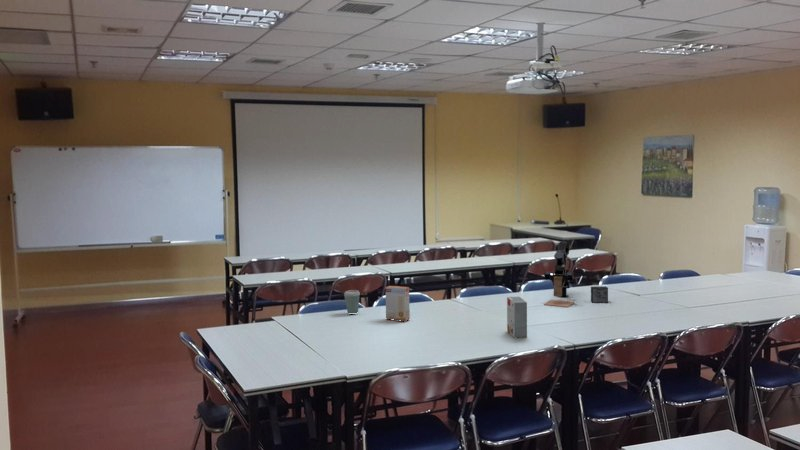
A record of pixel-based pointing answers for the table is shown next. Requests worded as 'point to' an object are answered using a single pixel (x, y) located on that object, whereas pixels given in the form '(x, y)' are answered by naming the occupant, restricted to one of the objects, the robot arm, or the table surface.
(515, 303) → the hard drive box
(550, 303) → the terracotta mat
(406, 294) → the cracker box
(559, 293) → the walnut block
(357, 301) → the disposable coffee cup
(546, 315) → the table surface
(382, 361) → the table surface
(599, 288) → the small box
